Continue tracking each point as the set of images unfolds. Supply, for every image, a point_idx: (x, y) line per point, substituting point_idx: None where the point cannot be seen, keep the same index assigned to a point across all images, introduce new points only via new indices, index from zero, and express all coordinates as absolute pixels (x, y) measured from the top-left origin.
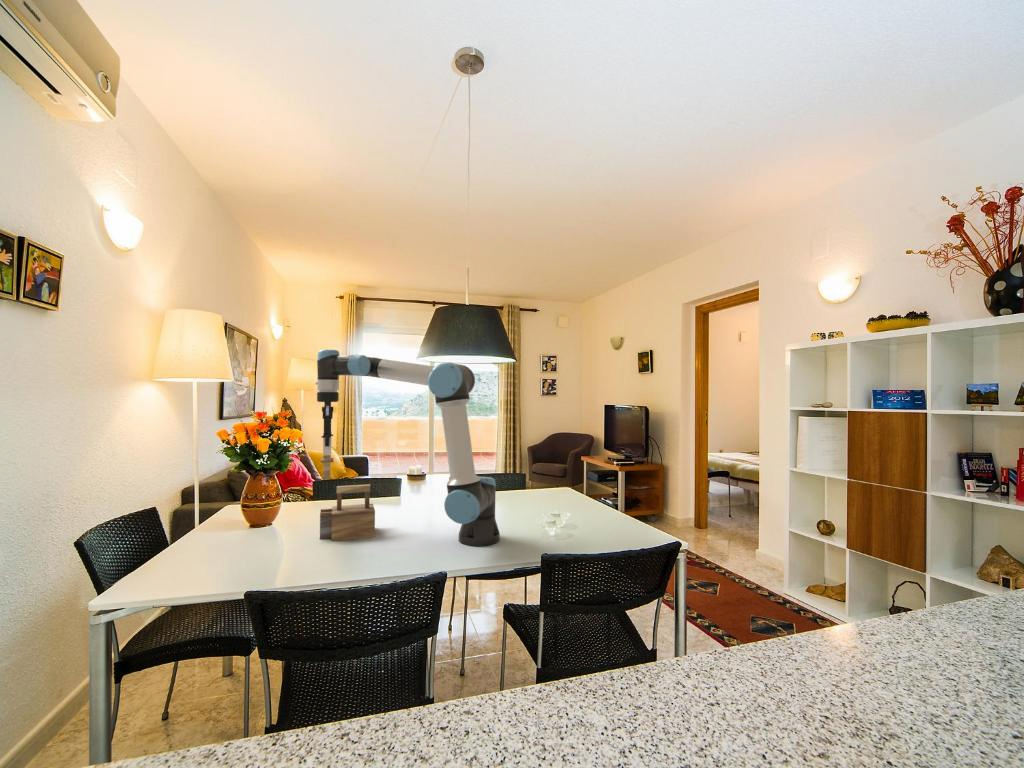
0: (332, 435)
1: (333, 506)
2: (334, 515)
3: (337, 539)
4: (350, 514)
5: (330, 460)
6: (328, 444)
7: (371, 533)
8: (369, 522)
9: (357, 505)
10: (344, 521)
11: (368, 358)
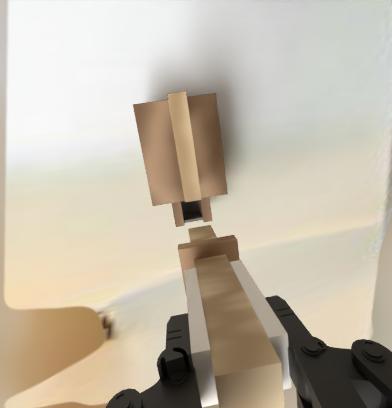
0: (189, 353)
1: (152, 203)
2: (226, 187)
3: None
4: (222, 153)
5: (237, 249)
6: (287, 307)
7: None
8: None
9: (149, 144)
10: None
11: None
